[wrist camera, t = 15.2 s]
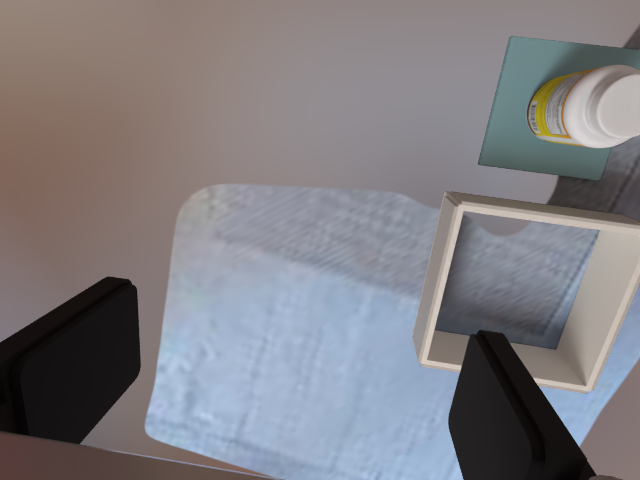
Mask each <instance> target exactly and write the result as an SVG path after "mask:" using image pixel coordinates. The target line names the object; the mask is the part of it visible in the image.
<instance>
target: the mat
mask: <svg viewBox="0 0 640 480" xmlns="http://www.w3.org/2000/svg"><path fill="white" fill-rule="evenodd" d="M610 65H626V66H630V67H633V68H635V69H637V70H639V69H640V50H636V49H627V48H617V47H608V46H599V45H589V44H580V43H571V42H562V41H553V40H544V39H535V38H525V37H516V36H511V37H510V38H509V41H508V45H507V49H506V53H505V57H504V61H503V65H502V69H501V73H500V77H499V81H498V85H497V89H496V93H495V97H494V101H493V105H492V109H491V113H490V117H489V121H488V125H487V129H486V133H485V137H484V141H483V146H482V150H481V153H480V158H479V161H478V164H479V165H484V166H491V167H499V168H506V169H514V170H522V171H529V172H537V173H545V174H552V175H560V176H567V177H575V178H583V179H590V180H598V181H600V179H601V176H602V173H603V170H604V167H605V164H606V162H607V159H608V156H609V153H610V150H611V148H612V147H607V148H590V147H583V146H576V145H568V144H561V143H553V142H547V141H544V140H541V139H539V138H538V137H536V136H535V135H534V134H533V133H532V132H531V131H530V129H529V127H528V125H527V121H526V109H527V105H528V102H529V100H530V98H531V96H532V95H533V93H534V92H535V91H536V90H537V89H538V88H539V87H540V86H541V85H542V84H544V83H545V82H547V81H549V80H551V79H553V78H556V77H559V76H563V75H568V74H573V73H577V72H582V71H586V70H590V69H595V68H600V67H605V66H610Z"/></svg>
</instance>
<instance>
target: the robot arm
mask: <svg viewBox="0 0 640 480" xmlns="http://www.w3.org/2000/svg"><path fill="white" fill-rule="evenodd" d="M140 367H141V363H140V342H139V320H138V299H137V289H136V287H135V286H134V285H132V283H131V281H130V280H129V279H122V278H115V277H106V278H104V279H102V280H101V281H99V282H97V283H96V284H94V285H92V286H91V287H89V288H88V289H86V290H85V291H83V292H81V293H80V294H78V295H76V296H75V297H73V298H71V299H70V300H68V301H67V302H65V303H63V304H62V305H60V306H59V307H57V308H55V309H54V310H52V311H51V312H49V313H47V314H46V315H44V316H42V317H41V318H39V319H37V320H36V321H34V322H33V323H31V324H30V325H28V326H26V327H25V328H23V329H21V330H20V331H18V332H17V333H15V334H13V335H12V336H10V337H8V338H7V339H5V340H4V341H2V342H0V480H284V479H278V478H272V477H267V476H261V475H255V474H249V473H244V472H238V471H232V470H227V469H220V468H215V467H209V466H204V465H198V464H191V463H186V462H180V461H175V460H169V459H163V458H157V457H151V456H145V455H139V454H133V453H127V452H121V451H115V450H109V449H103V448H98V447H97V448H96V447H91V446H86V445H80V443H81V442H82V441H83V439H84V438H85V437H86V436H87V435H88V434H89V433H90V431H91V430H92V429H93V428H94V427H95V426H96V424H97V423H98V422H99V421H100V420H101V419H102V418H103V416H104V415H105V414H106V413H107V412H108V411H109V409H110V408H111V407H112V406H113V405H114V404H115V403H116V401H117V400H118V399H119V398H120V397H121V396H122V394H123V393H124V392H125V391H126V390H127V389H128V388H129V386H130V385H131V384H132V383H133V382H134V381H135V379H136V378H137V376H138V374H139V371H140ZM448 424H449V430H450V434H451V437H452V441H453V444H454V448H455V451H456V455H457V458H458V462H459V465H460V469H461V472H462V476H463V479H464V480H622V479H618V478H615V477H612V476H604V475H598V476H597V475H596V474H595V472H594V471H593V469H592V468H591V466H590V465H589V463H588V462H587V458H586V457H585V455H584V454H583V452H582V451H581V449H580V448H579V446H578V445H577V443H576V442H575V440H574V439H573V437H572V436H571V434H570V433H569V431H568V430H567V428H566V427H565V425H564V424H563V422H562V421H561V419H560V418H559V416H558V415H557V413H556V412H555V410H554V409H553V407H552V406H551V404H550V403H549V401H548V400H547V398H546V397H545V395H544V394H543V392H542V391H541V389H540V388H539V386H538V385H537V383H536V382H535V380H534V379H533V377H532V376H531V374H530V373H529V371H528V370H527V368H526V367H525V365H524V364H523V362H522V361H521V359H520V358H519V356H518V355H517V353H516V352H515V350H514V349H513V347H512V346H511V344H510V343H509V341H508V340H507V338H506V337H505V335H504V334H503V333H497V332H490V331H483V330H479V331H478V332H477V334H476V335H474V334H472V335H471V336H470V337H469V340H468V344H467V348H466V352H465V355H464V359H463V363H462V367H461V371H460V375H459V378H458V382H457V386H456V390H455V394H454V398H453V401H452V405H451V409H450V413H449V420H448Z"/></svg>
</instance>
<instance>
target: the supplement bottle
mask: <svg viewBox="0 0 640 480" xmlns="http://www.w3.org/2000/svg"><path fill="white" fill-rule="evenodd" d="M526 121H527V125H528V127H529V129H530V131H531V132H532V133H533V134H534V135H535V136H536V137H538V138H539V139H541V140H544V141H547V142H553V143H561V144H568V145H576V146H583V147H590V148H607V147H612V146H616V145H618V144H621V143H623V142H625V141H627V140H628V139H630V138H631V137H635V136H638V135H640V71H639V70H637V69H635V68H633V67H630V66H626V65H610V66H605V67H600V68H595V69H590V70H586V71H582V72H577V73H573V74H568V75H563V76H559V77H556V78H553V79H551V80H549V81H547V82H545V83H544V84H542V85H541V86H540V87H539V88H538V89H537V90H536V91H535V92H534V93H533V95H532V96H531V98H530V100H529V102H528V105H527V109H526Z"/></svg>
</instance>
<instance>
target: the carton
mask: <svg viewBox="0 0 640 480" xmlns="http://www.w3.org/2000/svg"><path fill="white" fill-rule="evenodd" d="M464 211H468V212H475V213H482V214H490V215H496V216H503V217H511V218H518V219H525V220H532V221H539V222H546V223H554V224H561V225H568V226H575V227H582V228H590V229H597V230H600V233H599V235H598V238H597V241H596V243H595V246H594V249H593V251H592V254H591V257H590V260H589V262H588V265H587V268H586V270H585V273H584V276H583V278H582V281H581V284H580V286H579V289H578V292H577V295H576V297H575V300H574V303H573V305H572V308H571V311H570V313H569V316H568V319H567V322H566V324H565V327H564V330H563V332H562V335H561V338H560V340H559V343H558V346H557V349H556V350H555V349H548V348H542V347H536V346H530V345H524V344H517V343H511V342H509V343H510V344H511V346H512V347H513V349H514V350H515V352H516V353H517V355H518V356H519V358H520V359H521V361H522V362H523V364H524V365H525V367H526V368H527V370H528V371H529V373H530V374H531V376H532V377H533V379H534V380H535V382H536V383H537V385H538V386H543V387H549V388H555V389H561V390H567V391H573V392H579V393H585V394H587V392H588V391H589V392H590V391H591V390H594V389H595V387H596V385H597V382H598V380H599V378H600V375H601V373H602V371H603V368H604V366H605V364H606V361H607V359H608V357H609V354H610V352H611V349H612V347H613V345H614V342H615V340H616V338H617V335H618V333H619V331H620V328H621V326H622V324H623V321H624V319H625V317H626V314H627V312H628V309H629V307H630V305H631V302H632V300H633V298H634V295H635V293H636V291H637V288H638V286H639V284H640V222H639V221H637V220H634V219H631V218H629V217H626V216H623V215H619V214H612V213H605V212H597V211H590V210H583V209H575V208H568V207H561V206H553V205H546V204H538V203H531V202H524V201H517V200H509V199H502V198H495V197H487V196H480V195H472V194H465V193H458V192H446V191H445V193H444V197H443V201H442V205H441V210H440V214H439V219H438V223H437V227H436V232H435V236H434V241H433V245H432V250H431V254H430V258H429V263H428V267H427V272H426V276H425V280H424V285H423V289H422V294H421V298H420V303H419V307H418V311H417V316H416V320H415V325H414V329H413V341H414V345H415V350H416V354H417V359H418V361H420V363H421V364H422V366H423V367H429V368H435V369H441V370H447V371H453V372H459V373H460V371H461V367H462V363H463V359H464V355H465V352H466V348H467V344H468V340H469V337H470V336H467V335H461V334H455V333H449V332H442V331H436V330H434V329H435V325H436V321H437V317H438V313H439V309H440V305H441V301H442V297H443V293H444V289H445V285H446V281H447V277H448V272H449V268H450V264H451V260H452V256H453V252H454V248H455V244H456V240H457V236H458V232H459V228H460V224H461V220H462V216H463V212H464Z"/></svg>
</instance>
